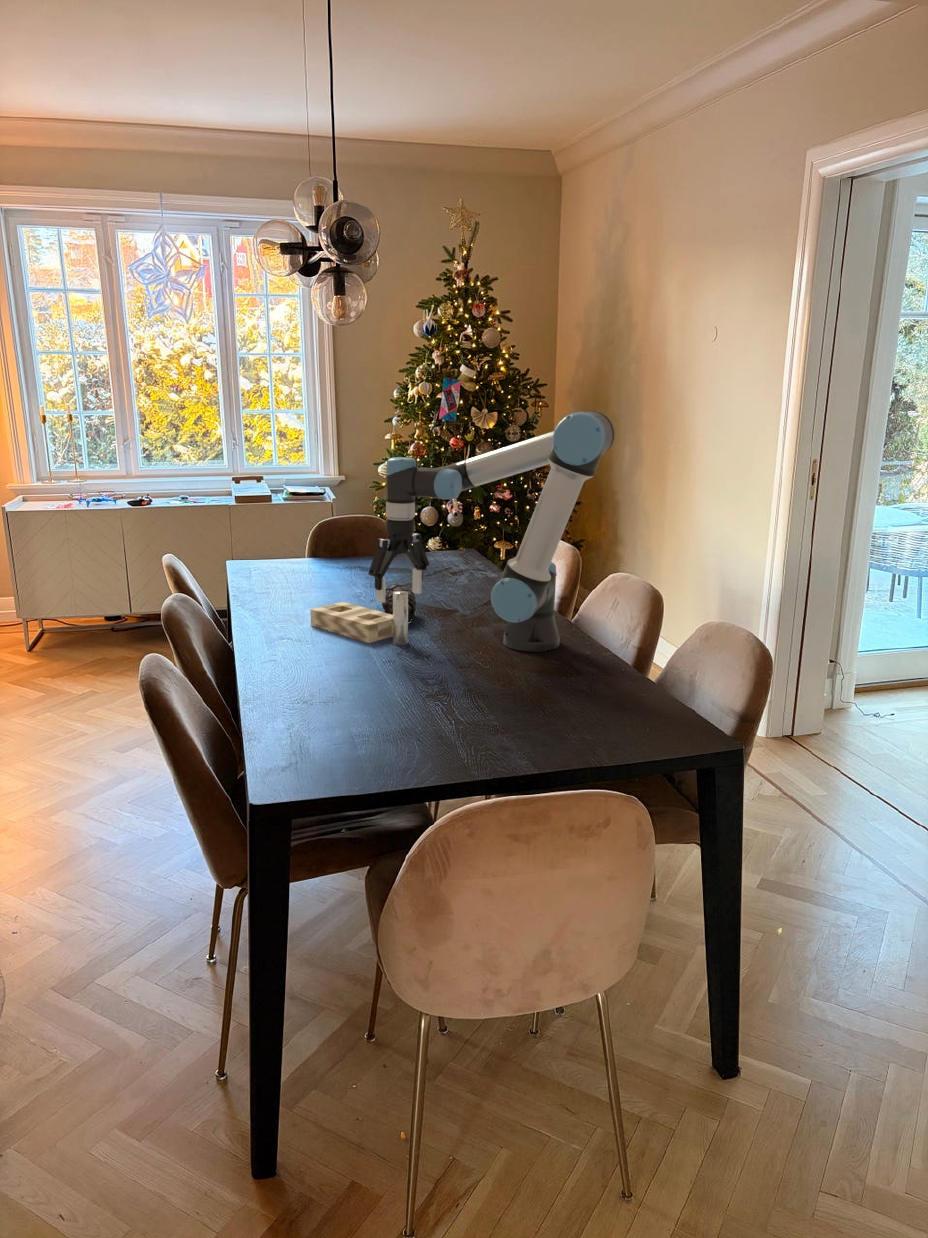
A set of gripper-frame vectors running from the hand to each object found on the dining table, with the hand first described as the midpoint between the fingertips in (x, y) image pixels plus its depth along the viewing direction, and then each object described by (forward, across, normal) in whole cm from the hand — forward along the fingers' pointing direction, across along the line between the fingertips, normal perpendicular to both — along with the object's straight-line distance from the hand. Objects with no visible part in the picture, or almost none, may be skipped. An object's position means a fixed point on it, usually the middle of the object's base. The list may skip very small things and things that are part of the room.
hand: (399, 597), depth 237 cm
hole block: (+13, 0, -18) cm, 22 cm away
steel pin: (+13, 0, 0) cm, 13 cm away
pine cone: (+13, -18, -16) cm, 27 cm away
